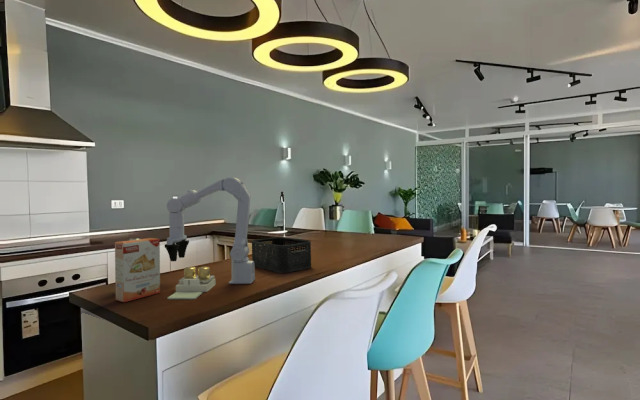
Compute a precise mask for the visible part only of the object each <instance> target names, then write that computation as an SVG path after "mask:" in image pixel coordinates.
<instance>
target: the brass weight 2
mask: <svg viewBox="0 0 640 400" xmlns="http://www.w3.org/2000/svg"><path fill="white" fill-rule="evenodd" d="M210 269H211V268H210V267H209V266H201V267H198V268H197V276H198V279H208V278H210V276H211V271H210Z"/></svg>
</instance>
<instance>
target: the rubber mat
mask: <svg viewBox="0 0 640 400" xmlns="http://www.w3.org/2000/svg"><path fill="white" fill-rule="evenodd" d="M200 295H203V292H176V291H175V292H173V294H171V295H169V296H168V297H167V298H166V299H167V300H196V299H197V298H199V297H200Z"/></svg>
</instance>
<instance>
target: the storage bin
mask: <svg viewBox="0 0 640 400" xmlns="http://www.w3.org/2000/svg"><path fill="white" fill-rule="evenodd" d="M267 242H271V243H267ZM311 245H312V243H311V240H307V239H299V238H291V237H284V236H283V237H282V236H277V237H269V238H260V239H259V238H258V239H253V240H251V261H254V264H255V267H256V268H258V267H259V268H258V269H262V270H266V271H270V272H275V273H278V274H279V273H280V274H286V273H288V274H289V273H294V272H298V271H302V270H303V271H304V270H308V269H310V268H312V250H311V249H312V247H311Z"/></svg>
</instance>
